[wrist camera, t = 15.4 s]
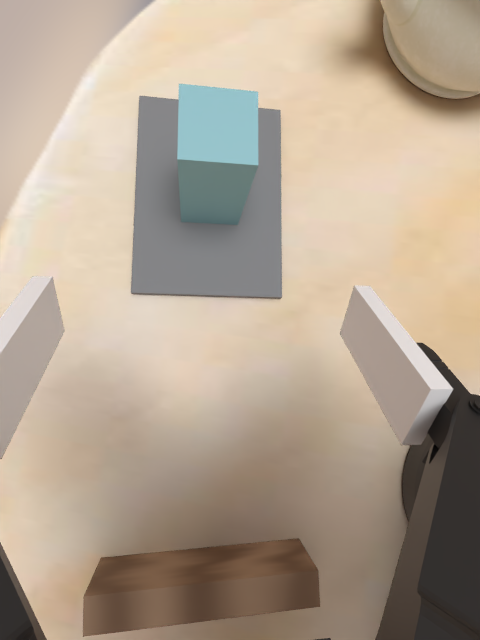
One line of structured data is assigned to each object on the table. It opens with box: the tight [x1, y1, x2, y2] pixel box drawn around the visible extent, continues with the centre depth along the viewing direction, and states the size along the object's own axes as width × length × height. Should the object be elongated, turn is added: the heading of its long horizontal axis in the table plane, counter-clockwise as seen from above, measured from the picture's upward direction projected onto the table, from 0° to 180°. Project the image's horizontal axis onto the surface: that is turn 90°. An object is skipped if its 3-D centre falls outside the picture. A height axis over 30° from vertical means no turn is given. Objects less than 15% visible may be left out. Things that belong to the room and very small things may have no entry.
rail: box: [83, 539, 320, 637], centre depth 27 cm, size 16×2×5 cm, turn 92°
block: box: [177, 84, 258, 225], centre depth 28 cm, size 5×5×10 cm
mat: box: [131, 96, 282, 298], centre depth 33 cm, size 13×18×1 cm
